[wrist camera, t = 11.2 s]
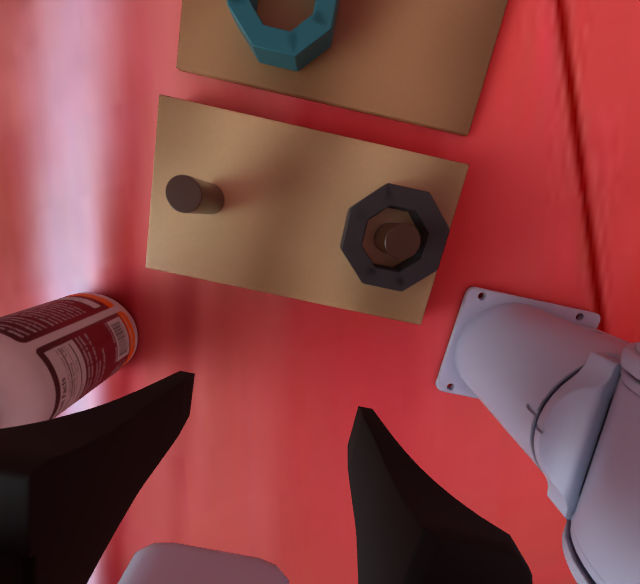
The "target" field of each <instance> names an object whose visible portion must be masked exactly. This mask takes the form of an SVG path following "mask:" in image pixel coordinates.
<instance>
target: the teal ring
mask: <svg viewBox="0 0 640 584" xmlns="http://www.w3.org/2000/svg"><path fill="white" fill-rule="evenodd" d="M339 2H340V0H315V6H314V11H313V14H312V15H311V16H309V17H308V18H307V19H306V20H304V21H303V22H302V23H301V24H299V25H298V26H297V27H295V28H294V29H293V30H292V31H287V30H283V29H279V28H275V27H270V26H266V25H264V24H263V22H262V20H261V19H260V17H259V15H258V14H257V5H258V0H227V5H228V8H229V10H230V12H231V14H232V17H233V19H234V21H235V23H236V25H237V27H238V29H239V30H240V32H241V34H242V35H243V37H244V38H245V40H246V42H247V43H248V45H249V47H250V48H251V50H252V52H253V53H254V55H255V57H256V58H257V60H258V61H259V62H260V63H263V64H267V65H271V66H276V67H280V68H284V69H289V70H293V71H300V70H301V69H302V68H303V67H305V66H306V65H307V64H309V63H310V62H311V61H313V60H314V59H315V58H317V57H318V56H319V55H321V54H322V53H323V52H325V51H326V50H327V49H329V48H330V47H331V44H332V39H333V34H334V28H335V23H336V18H337V13H338V7H339Z"/></svg>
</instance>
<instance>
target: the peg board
mask: <svg viewBox="0 0 640 584" xmlns="http://www.w3.org/2000/svg"><path fill="white" fill-rule="evenodd" d="M468 168H469V165H468V164H464V163H460V162H456V161H451V160H447V159H442V158H438V157H434V156H429V155H425V154H420V153H416V152H412V151H407V150H403V149H398V148H394V147H390V146H385V145H381V144H376V143H372V142H368V141H363V140H359V139H354V138H350V137H346V136H341V135H337V134H332V133H328V132H324V131H319V130H315V129H310V128H306V127H302V126H297V125H293V124H288V123H284V122H280V121H275V120H271V119H266V118H262V117H258V116H253V115H249V114H244V113H240V112H236V111H231V110H227V109H222V108H218V107H214V106H209V105H205V104H200V103H196V102H192V101H187V100H183V99H178V98H174V97H170V96H165V95H159V106H158V118H157V131H156V144H155V156H154V169H153V181H152V194H151V206H150V219H149V231H148V244H147V256H146V268H150V269H155V270H159V271H164V272H169V273H174V274H179V275H183V276H188V277H193V278H198V279H203V280H207V281H212V282H217V283H222V284H227V285H231V286H236V287H241V288H246V289H250V290H255V291H260V292H265V293H270V294H274V295H279V296H284V297H289V298H294V299H298V300H303V301H308V302H313V303H318V304H322V305H327V306H332V307H337V308H342V309H346V310H351V311H356V312H361V313H366V314H370V315H375V316H380V317H385V318H390V319H394V320H399V321H404V322H409V323H414V324H418V325H421V322H422V319H423V315H424V312H425V309H426V306H427V302H428V299H429V296H430V292H431V289H432V286H433V283H434V279H435V276H436V273H437V271H435V272H434V273H432V274H430V275H429V276H427V277H425V278H424V279H422V280H420V281H419V282H417V283H415V284H414V285H412V286H410V287H409V288H407V289H406V290H404V291H395V290H391V289H386V288H381V287H376V286H372V285H367V284H363V283H362V282H361V281H360V279H359V277H358V276H357V274H356V273H355V271H354V269H353V268H352V266H351V265H350V263H349V262H348V260H347V258H346V257H345V255H344V254H343V252H342V250H341V249H340V243H341V238H342V234H343V229H344V225H345V221H346V216H347V212H348V209H349V208H350V207H351V206H353V205H354V204H356V203H357V202H359V201H360V200H362V199H363V198H365V197H366V196H368V195H369V194H371V193H372V192H374V191H375V190H377V189H378V188H380V187H381V186H383V185H385V184H387V183H391V184H396V185H400V186H405V187H409V188H413V189H418V190H422V191H427V192H430V194H431V195H432V197H433V199H434V201H435V203H436V205H437V206H438V208H439V210H440V212H441V214H442V216H443V217H444V219H445V221H446V223H447V225H448V227H449V228H450V227H451V223H452V220H453V217H454V214H455V210H456V207H457V204H458V200H459V197H460V194H461V191H462V187H463V184H464V181H465V177H466V174H467V171H468ZM449 230H450V229H449ZM420 241H421V239H420V234H419V231H418V229H417V228H416V226H415V224H414V222H413V220H412V219H411V217H410V215H409V213H408V212H405V211H401V210H396V209H392V208H386V209H385V210H383V211H381V212H380V213H378V214H377V215H375V216H374V217H372V218H371V219H369V220H368V223H367V227H366V231H365V235H364V239H363V243H362V246H363V248H364V250H365V251H366V253H367V255H368V256H369V258H370V259H371V261H372V263H375V264H379V265H384V266H389V267H394V266H396V265H397V264H399V263H401V262H402V261H404V260H406V259H407V258H410V257H412V256H413V255H414V254H415V253H416V252H417V251H418V249H419V246H420Z"/></svg>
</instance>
